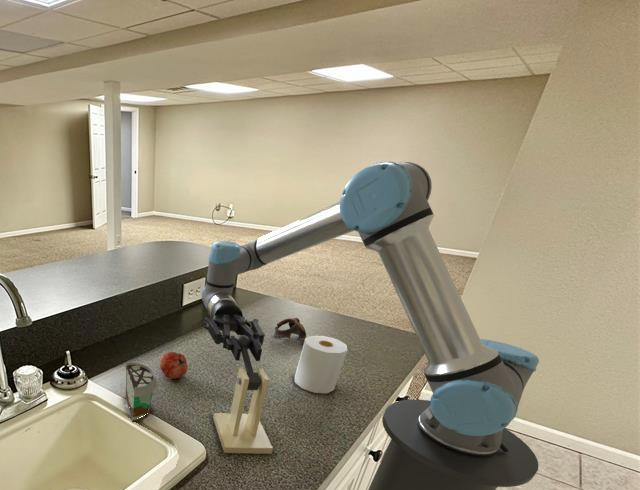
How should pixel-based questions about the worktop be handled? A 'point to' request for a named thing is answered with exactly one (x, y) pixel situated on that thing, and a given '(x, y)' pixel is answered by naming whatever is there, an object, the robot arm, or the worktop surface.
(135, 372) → the food container
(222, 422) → the switch bracket
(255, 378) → the lever
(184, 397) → the worktop surface
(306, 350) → the toilet paper
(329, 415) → the worktop surface
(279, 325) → the brown curved openwork frame
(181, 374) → the pomegranate
